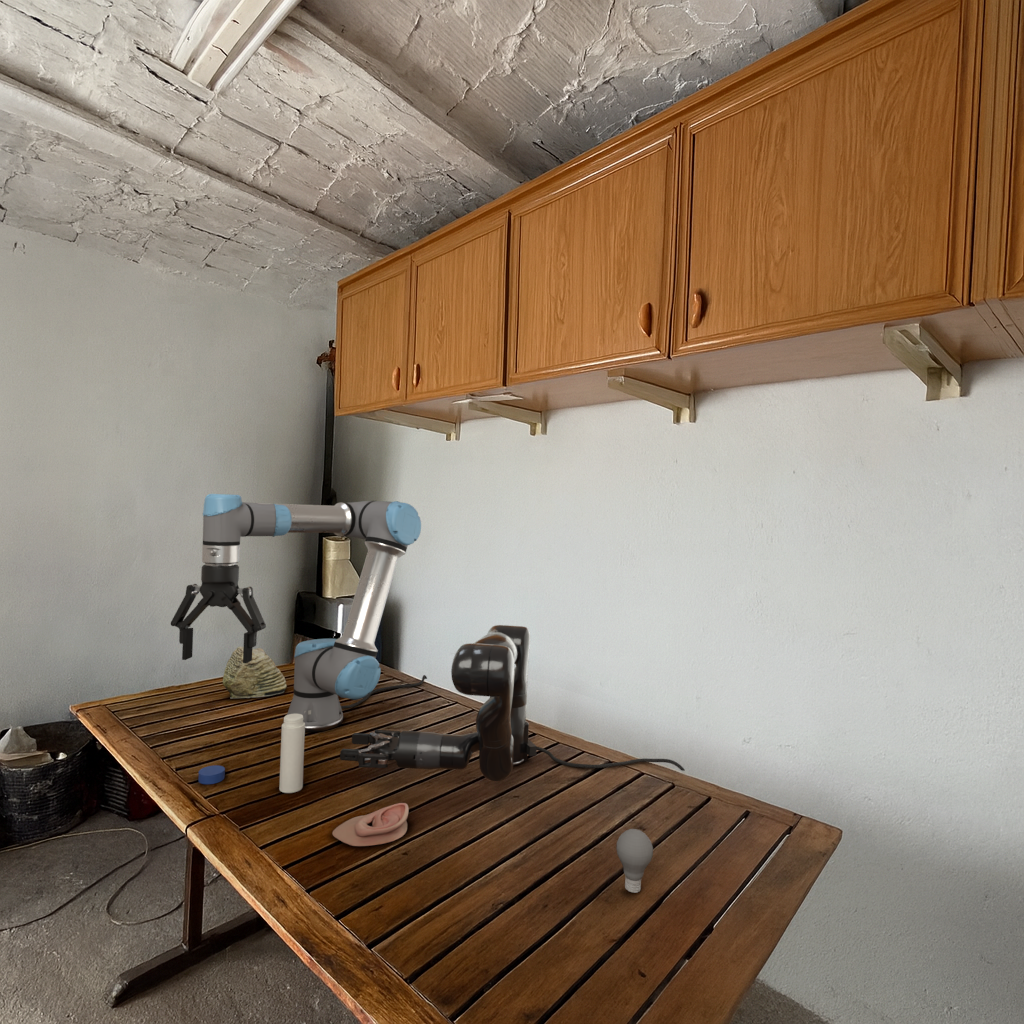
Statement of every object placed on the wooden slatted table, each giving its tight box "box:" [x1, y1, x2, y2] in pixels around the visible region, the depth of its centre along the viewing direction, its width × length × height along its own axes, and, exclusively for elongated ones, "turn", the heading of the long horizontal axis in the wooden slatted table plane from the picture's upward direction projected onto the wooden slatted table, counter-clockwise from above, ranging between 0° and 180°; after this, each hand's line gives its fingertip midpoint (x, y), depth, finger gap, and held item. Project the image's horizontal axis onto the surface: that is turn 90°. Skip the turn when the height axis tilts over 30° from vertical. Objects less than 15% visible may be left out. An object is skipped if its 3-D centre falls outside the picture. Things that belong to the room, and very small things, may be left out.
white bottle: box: [278, 714, 306, 794], centre depth 137 cm, size 5×5×16 cm
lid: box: [197, 764, 226, 785], centre depth 140 cm, size 5×5×2 cm
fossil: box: [222, 646, 288, 699], centre depth 198 cm, size 9×18×15 cm, turn 132°
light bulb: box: [615, 828, 654, 894], centre depth 106 cm, size 6×6×10 cm
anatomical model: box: [332, 802, 410, 847], centre depth 121 cm, size 13×4×12 cm
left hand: (217, 660), depth 140 cm, fingers open, 13 cm apart
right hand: (346, 746), depth 137 cm, fingers open, 8 cm apart
